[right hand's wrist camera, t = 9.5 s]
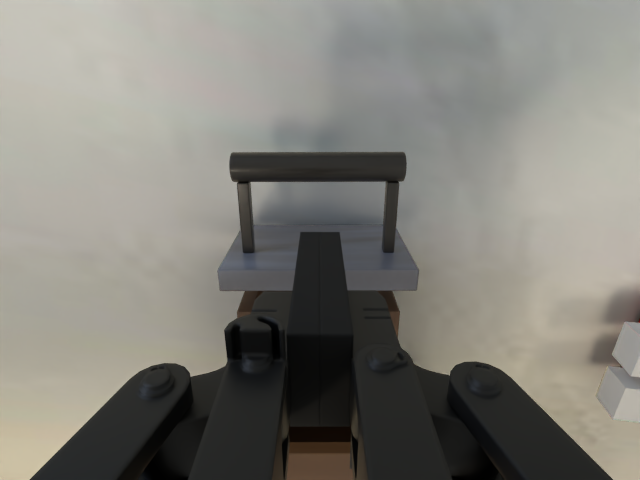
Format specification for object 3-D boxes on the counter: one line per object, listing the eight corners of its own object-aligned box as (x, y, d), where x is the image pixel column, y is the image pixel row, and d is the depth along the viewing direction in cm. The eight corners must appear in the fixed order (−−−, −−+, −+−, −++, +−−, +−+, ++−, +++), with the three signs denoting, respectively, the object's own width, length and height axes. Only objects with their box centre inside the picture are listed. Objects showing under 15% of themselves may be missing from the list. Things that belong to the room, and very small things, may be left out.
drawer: (235, 141, 23) (204, 160, 17) (400, 141, 23) (430, 160, 17) (258, 416, 31) (242, 499, 25) (380, 416, 31) (395, 498, 25)
